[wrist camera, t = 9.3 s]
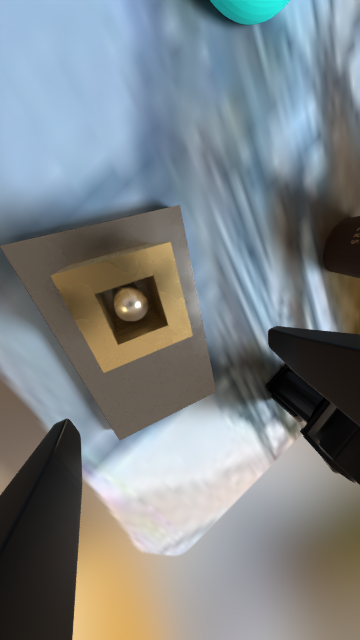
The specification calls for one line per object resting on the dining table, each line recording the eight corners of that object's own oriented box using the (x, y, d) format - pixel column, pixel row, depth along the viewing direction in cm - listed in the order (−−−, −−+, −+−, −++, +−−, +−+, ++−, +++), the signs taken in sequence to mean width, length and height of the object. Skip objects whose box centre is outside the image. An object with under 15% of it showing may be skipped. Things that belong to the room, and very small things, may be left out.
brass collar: (68, 265, 13) (50, 275, 9) (150, 242, 14) (170, 241, 10) (103, 337, 16) (103, 373, 11) (169, 312, 17) (192, 335, 13)
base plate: (10, 245, 13) (-47, 245, 8) (173, 208, 15) (204, 191, 11) (118, 428, 21) (123, 481, 17) (210, 383, 24) (236, 417, 19)
